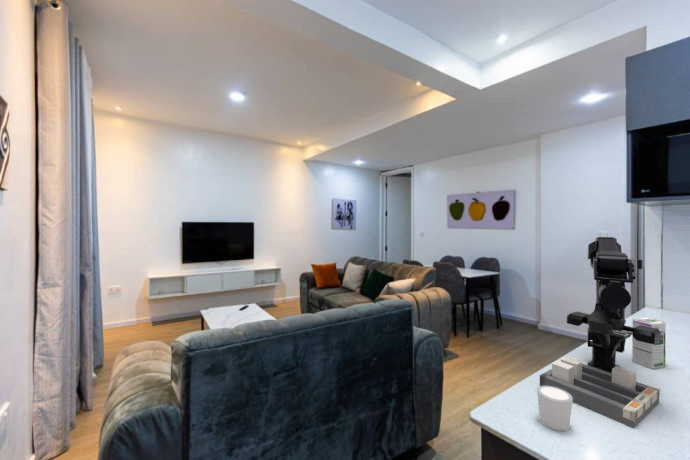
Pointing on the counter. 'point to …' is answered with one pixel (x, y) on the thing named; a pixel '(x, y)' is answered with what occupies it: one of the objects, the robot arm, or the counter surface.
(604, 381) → the switch bank
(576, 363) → the beige rectangular block
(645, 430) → the counter surface
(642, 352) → the syrup box
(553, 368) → the cream rectangular block
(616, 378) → the tab
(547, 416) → the white cup
